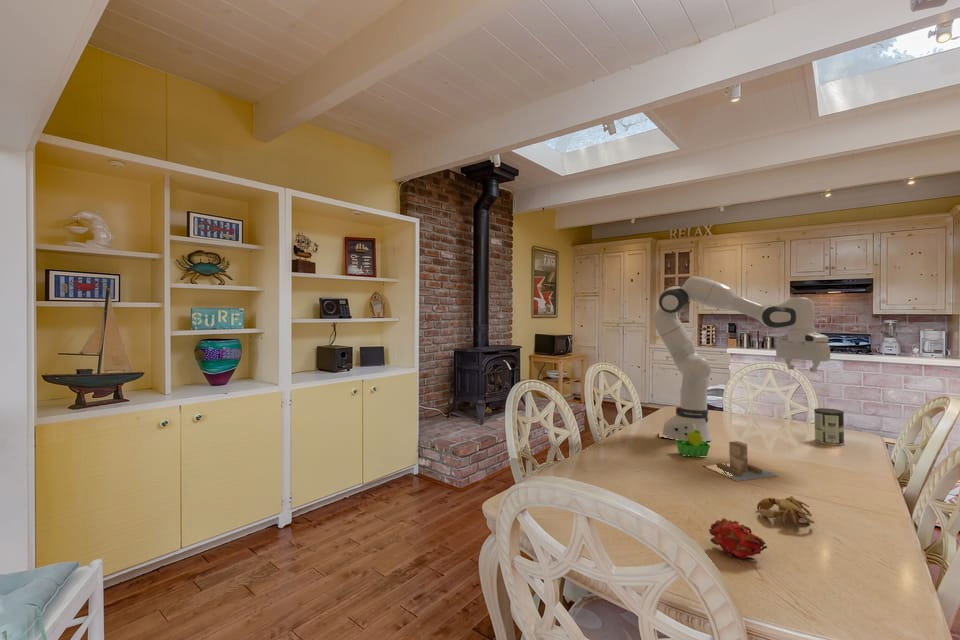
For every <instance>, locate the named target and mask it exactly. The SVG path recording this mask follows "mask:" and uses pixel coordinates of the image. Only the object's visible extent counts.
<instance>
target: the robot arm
mask: <svg viewBox="0 0 960 640" xmlns="http://www.w3.org/2000/svg"><path fill="white" fill-rule="evenodd" d="M691 301H693V302H697V303H700V304H702V305H705V306H708V307H711V308H713V309H718V310H720V309H721V310H730V311H734V312H737V313H740V314H743V315H745V316H747V317H751V318H753V319H755V320H756V321H758V322H759V323H760V325H762V326H763V327H764V328H767V329H772V330H774V329H780V328H785V327H787V335H781V336H780V337H778V338H777V343H776V349H775V356H776V357H777V358H779V359H780V358H782V359H784V362H785V364H786V366H787V370H790V371H791V370H793V371H794V370H795V364H794V365H793V363H792V361H793V360H801V361H811V362H812V367H809V372H810V373H817V372H818V367H819V366H820V365H821V363H822V362H829V361H830V359H831V348H830V345H829V343H828V342H829V341H830V339H829V338H830V337H829V336H827V335H825V334H821V333H819V332H816V328H815V324H814V323H815V320H816V312H815V311H816V310H815V304H814V302H813V300H812V299H810V298H809V297H804V296H791V297H789V298H787V299H785V300H783V301H781V302H779V303H775V304H773V305H763V304H760V303H757V302H754V301H751V300H750V299H746V298H745V297H741V296H740V295H739V294H737V293H736V292H735V291H734V290H733V289H732V288H731V287H729V286H728V285H725V284H723V283H721V282H719V281H716V280H713V279H710V278H707V277H702V276H695V275H694V276H693V275H692V276H690V277H688V278H687V279H686V281H684V283H683V285H682V286H681V285H679V284H678V285H677V284H676V285H671V286H669V287H667V288H665V289H664V290H663V291H662V293H661V294H660V296H659V299H658V305H659V307H660V308H658V309H657V310H656V311H654V312H653V314H652V317H651V318H652V321H653V325H654V327H655V329H656V331H657V333H658V335H659V336H660V339H662V341H663V343H664V345H665V346H666V348H667V350H668V353H669V354H670V356H671V358H672V360H673V362H674V364H675V365H676V368H677V370H678V371H679V373H681V374H682V381H681V388H680V393H679V394H680V398H679V401H680V402H679V403H680V406H679V405H677V406H676V407H675V415H673V416H672V417H670V418H669V419H667V420H666V421H665V422H664V424H663V426H662V430H663V433H662V434H663V435H665V436H667V437H668V438H673V439H678V440H688V438H687V436H688V434H689V433H690V432H692V431H694V430H698V431H699V432H700V435H701V437H702V441H704V442H706V441H710V440H711V441H712V436H711V434H710V428H709V423H708V422H709V420H710V419H709V416H710V415H709V409H708V388H709V387H708V386H709V382H710V375H711V372H712V366H711V364H710V362H709V361H708V360H707V359H706V358H705V357H703V356H700V355H699V353H698V351H697V350H696V348H695V345H694V343H693V341H692V338H691V337H690V334H689V333H688V331H687V329H686V328H685V326H684V325H683V322H682V321H681V320H680V318H679V316H678V312H680V311H681V310H682V309H684V307H685V306H686V305H687V304H688V303H689V302H691ZM711 441H710V442H711ZM706 443H707V442H706Z"/></svg>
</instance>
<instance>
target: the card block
mask: <svg viewBox="0 0 960 640" xmlns="http://www.w3.org/2000/svg"><path fill="white" fill-rule="evenodd" d="M728 445H729V446H728V447H729V449H728V450H729V451H728V452H729V454H728V455H729V462H730V467H731V468H734V469H736V470H739V471H741V472H748V464H749V462H748V459H749V458H748V443H744V442H742V441H739V440H735V441H729V444H728Z"/></svg>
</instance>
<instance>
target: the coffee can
mask: <svg viewBox="0 0 960 640" xmlns="http://www.w3.org/2000/svg"><path fill="white" fill-rule="evenodd" d="M813 411H814V441H815V442H817V443H819V444H822V443H823V444H822V445H827V444H828V445H829V446H844V445H845V433H844V432H845V430H844V429H845V426H844V425H845V422H844V413H845V412H844V411H842V410H840V409H839V410H838V409H834V408H822V407H821V408H820V407H819V408H814V409H813ZM843 444H844V445H843Z"/></svg>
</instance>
